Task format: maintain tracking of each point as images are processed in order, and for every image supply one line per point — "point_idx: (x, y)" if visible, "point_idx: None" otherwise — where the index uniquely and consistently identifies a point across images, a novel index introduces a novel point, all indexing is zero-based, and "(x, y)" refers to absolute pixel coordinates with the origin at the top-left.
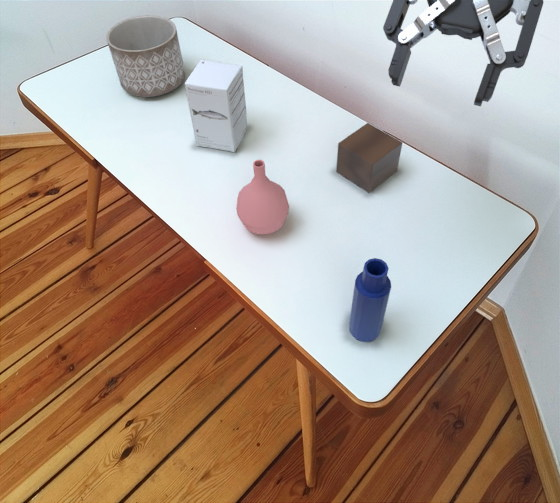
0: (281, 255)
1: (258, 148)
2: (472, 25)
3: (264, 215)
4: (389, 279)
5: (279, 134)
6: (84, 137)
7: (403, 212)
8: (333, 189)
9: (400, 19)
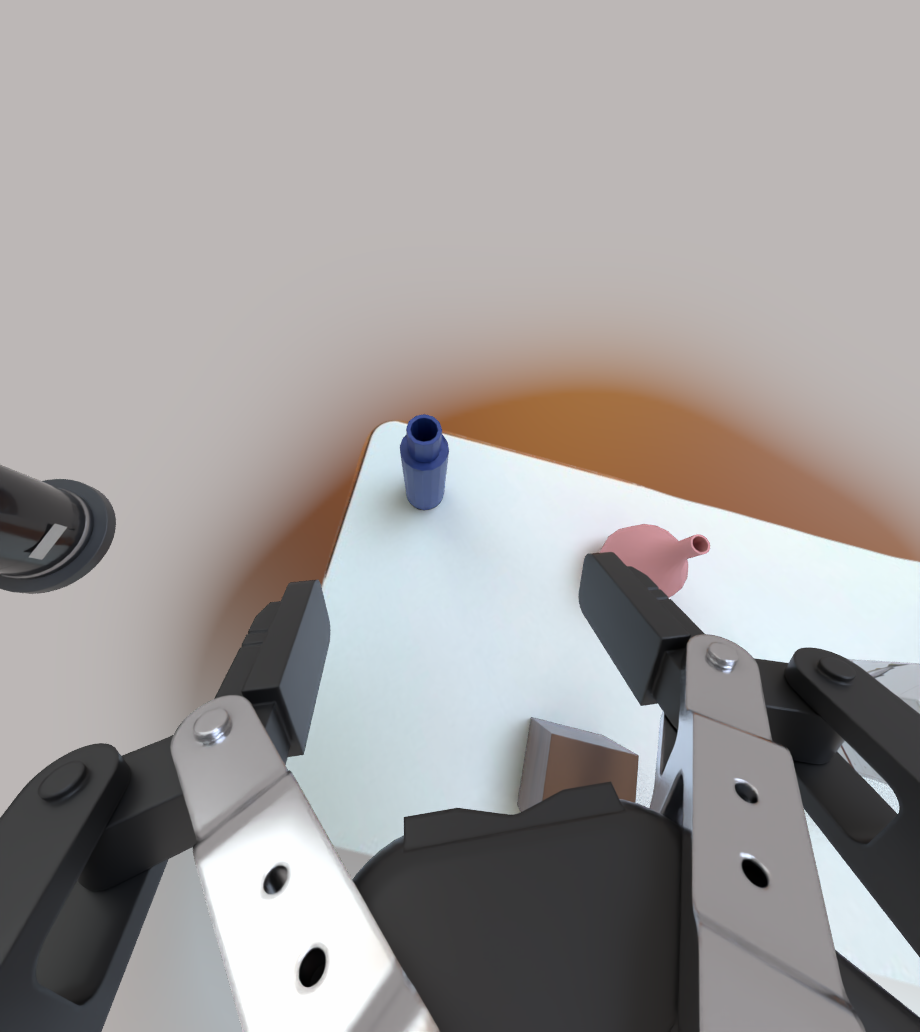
0: (567, 535)
1: None
2: (419, 874)
3: (624, 532)
4: (407, 464)
5: None
6: None
7: (463, 706)
8: (583, 691)
9: (854, 826)
